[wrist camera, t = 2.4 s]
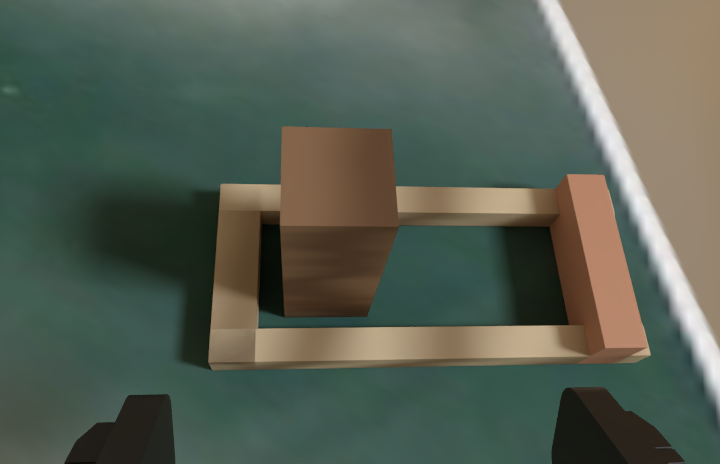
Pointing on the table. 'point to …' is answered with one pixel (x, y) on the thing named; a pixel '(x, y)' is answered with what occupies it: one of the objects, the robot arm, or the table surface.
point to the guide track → (439, 344)
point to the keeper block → (335, 218)
